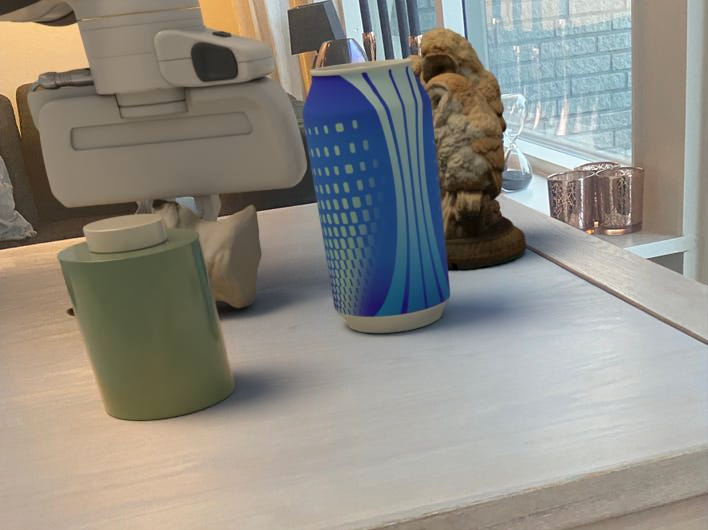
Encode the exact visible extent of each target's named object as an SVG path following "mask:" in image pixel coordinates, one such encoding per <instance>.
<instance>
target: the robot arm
mask: <svg viewBox="0 0 708 530" xmlns="http://www.w3.org/2000/svg"><path fill="white" fill-rule="evenodd" d="M0 22H3V23H4V22H10V23H23V24H24V23H34V24H37V25H43V26H46V27H53V28H54V27H55V28H58V27H59V28H61V27H68V26H71V25H75V24H77V28H78V30H79V35H80V38H81V41H82V45H83V49H84V53H85V56H86V60H87V63H88V66H89V67H82V68H75V69H70V70H66V71H61V72H58V71H46V72H43V73H40V74H39V75H38V79H37V80H35V81H34V82H33V83H32V84H31V85H30V87H29V89H28V93H27V105H28V108H29V111H30V115H31V117H32V120H33V121H32V122H33V124H34V126H35V128H36V130H37V131H38V134H39V139H40V141H39V142H40V146H41V152H42V158H43V162H44V167H45V173H46V176H47V179H48V184H49V187H50V191H51V193H52V195H53V196H54V198H55V199H56V200H57V201H58V202H60V203H61V204H62V205H63V206H64V207H65V208H79V207H90V206H102V205H112V204H113V205H114V204H123V203H124V204H125V203H135V202H146V201H148V203H149V207H150V210H151V212H152V204H153V201H154V200H155V199H161V200H166V201H175V202H177V200H176V199H179V198H190V197H191V198H192V197H193V201H194V205H195V210H196V211H197V212H203V214H202V218H201V219H202V220H206V221H211V222H215V221H218V219H219V215H220V211H221V208H222V202H221V198H220V195H224V194H236V193H246V192H247V193H248V192H257V191H258V192H259V191H269V190H270V191H271V190H281V189H290V188H293V187H295V186H297V185H298V184H299V183H300V182H301V181H302V180H303V178H304V177H305V174H306V172H307V169H308V162H307V156H306V151H305V146H304V142H303V138H302V133H301V129H300V126H299V122H298V120H297V116H296V112H295V110H294V107H293V104H292V101H291V99H290V96H289V94H288V93H287V91H286V89H285V88H284V86H283V85H282V84H280V82H279V81H277V80H275V79H273V78H271V77H268V76H269V75H270V74H272V73H273V72H274V70H275V56H274V52H273V50H272V47H271V46H270V44H268V43H266V42H264V41H261V40H257V39H253V38H249V37H244V36H241V35H237V34H233V33H230V32H228V31H224V30H218V29H214V28H210V27H207V25H205V23H204V18H203V13H202V9H201V5H200V1H199V0H0ZM39 87H41V89H42V90H37V89H38V88H39Z"/></svg>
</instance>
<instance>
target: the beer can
mask: <svg viewBox="0 0 708 530" xmlns="http://www.w3.org/2000/svg"><path fill="white" fill-rule="evenodd" d="M412 65H413V61H412V60H411V59H406V58H397V59H395V58H394V59H393V58H392V59H381V60H369V61H359V62H351V63H344V64H335V65H334V64H333V65H327V66H322V67H316V68H312V69H310V70H309V74H310V76H311V78H312V80H311V83H310V87H309V90H308V92H307V95H306V99H305V101H304V104H303V108H302V120H303V121H302V122H303V127H304V133H305V139H306V146H307V150H308V157H309V164H310V169H311V174H312V180H313V186H314V192H315V198H316V199H315V200H316V204H317V210H318V217H319V223H320V229H321V235H322V240H323V247H324V252H325V258H326V265H327V271H328V277H329V282H330V288H331V294H332V295H331V296H332V300H333V306H334V310H335V312H337V314H339V315H340V316H341V317H342V318H343V319H344V321H345V322H346V324H347V326H348V328H350V329H351V330H353V331H355V332H360V333H367V334H368V333H369V334H392V333H400V332H406V331H412V330H417V329H420V328H423V327H426V326H428V325H431V324H433V323H435V322H437V321H439V320H440V319H441V317H442V315H443V311H444V308H445V306H446V304H447V303H448V302H449V300H450V298H451V288H450V277H449V269H448V266H447V256H446V246H445V236H444V226H443V216H442V206H441V196H440V186H439V176H438V166H437V156H436V146H435V136H434V126H433V116H432V106H431V99H430V97H429V95H428V93H427V92H426V90H425V89H424V87H423V85H422V84H421V82H420V81H419V79H418V78H417V76H416V75H415V73H414V71H413V70H412Z"/></svg>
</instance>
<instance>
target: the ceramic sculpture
mask: <svg viewBox="0 0 708 530" xmlns="http://www.w3.org/2000/svg"><path fill="white" fill-rule="evenodd" d="M151 214H157V215H161V216H162V217H163V221H164V225H165V229H187V230H193V231H196V232H198V233H199V235H200V239H201V243H202V247H203V251H204V256H205V260H206V264H207V268H208V273H209V277H210V281H211V285H212V289H213V294H214V298H215V302H219V301H221V302H225V303H227V304H229V306H231V307H233V308H236V309H242V308H246V307H248V306H250V305H251V304H252V303H253V302H254V300H255V298H256V294H257V284H258V283H257V281H258V270H259V266H260V263H261V259H262V247H261V240H260V227H259V221H258V219H259V218H258V211H257V209H256V206H255V205H253V204H250V205H249V206H246V207H245V208H244V209H243V210H240V211H238V212H237V211H236V212H235V213H233V214H231V215H230V216H227V217H226V218H224V219H221V220H217V221H215V222H211V221H206V220H202V218H200V217H199V216H198V215H197V214H196V213H194V211H193V210H191V208H190V207H188V206H187V205H183V204H180V203H178V202H177V201H176V202H175V201H166V200H161V199H155V200H154V201H153V204H152V211H151ZM65 313H67V315H69V317H74V318H76V317H75V314H74V311H73V307H72V306H71V307H70V308H68V309H66V310H65Z"/></svg>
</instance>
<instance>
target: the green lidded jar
mask: <svg viewBox="0 0 708 530" xmlns="http://www.w3.org/2000/svg"><path fill="white" fill-rule="evenodd" d="M82 231H83V235H84V238H85V241H83V242H79V243H76V244H73V245H70V246H68V247H65V248H63V249H62V250H60V251H59V252H58V253H57V254H56V260H57V263H58V266H59V270H60V273H61V275H62V279H63V283H64V285H65V289H66V292H67V295H68V298H69V301H70V305H71V308H72V307H73V311H74V314H75V317H74V318H75V320H76V323H77V326H78V329H79V332H80V336H81V339H82V342H83V344H84V348H85V351H86V355H87V357H88V361H89V363H90V367H91V370H92V373H93V377H94V379H95V382H96V386H97V389H98V393H99V395H100V399H101V401H102V404H103V409H104V411H105V412H106V413H107V414H108V415H109V416H111V417H113V418H116V419H122V420H127V421H151V420H161V419H162V420H163V419H168V418H175V417H179V416H184V415H187V414H192V413H195V412H199V411H201V410H203V409H206V408H209V407H211V406H214V405H216V404H218V403H220V402H222V401H223V400H225V399H226V398H228V397H229V396H230V395H232V393H233V392H234V390H235V387H236V382H235V379H234V375H233V370H232V366H231V362H230V358H229V354H228V349H227V344H226V340H225V336H224V332H223V329H222V323H221V320H220V319H221V318H220V315H219V311H218V307H217V303H216V302H217V301H215V298H214V294H213V289H212V285H211V281H210V277H209V273H208V268H207V264H206V260H205V256H204V251H203V247H202V243H201V239H200V235H199V233H198V232H196V231H193V230H187V229H165V225H164V221H163V217H162V216H161V215H157V214H152V213H137V214H135V213H134V214H126V215H120V216H119V215H118V216H114V217H109V218H105V219H104V218H103V219H100V220H97V221H96V220H95V221H93V222H90V223H88V224H86V225H84V226H83V228H82Z"/></svg>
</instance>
